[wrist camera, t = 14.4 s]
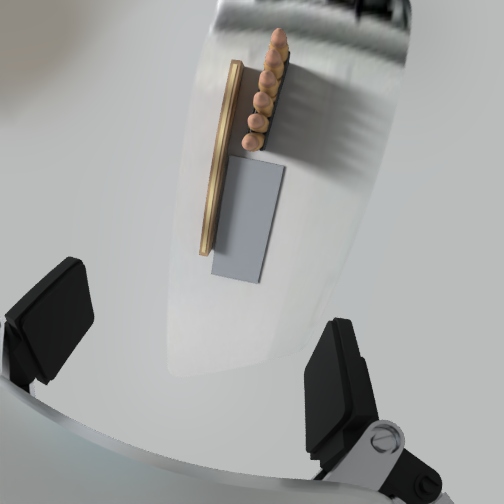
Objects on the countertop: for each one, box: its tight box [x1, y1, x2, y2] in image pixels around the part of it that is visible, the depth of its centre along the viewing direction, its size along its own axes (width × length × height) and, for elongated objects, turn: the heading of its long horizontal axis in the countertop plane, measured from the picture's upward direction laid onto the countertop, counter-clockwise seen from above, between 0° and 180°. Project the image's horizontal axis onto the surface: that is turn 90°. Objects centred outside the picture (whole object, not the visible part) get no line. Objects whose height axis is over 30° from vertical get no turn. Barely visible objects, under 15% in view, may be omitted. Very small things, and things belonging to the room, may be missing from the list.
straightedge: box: [199, 60, 244, 256], centre depth 28 cm, size 22×1×3 cm, turn 169°
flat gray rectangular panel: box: [211, 155, 284, 284], centre depth 32 cm, size 15×6×1 cm, turn 169°
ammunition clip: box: [242, 28, 290, 151], centre depth 21 cm, size 11×2×12 cm, turn 166°
